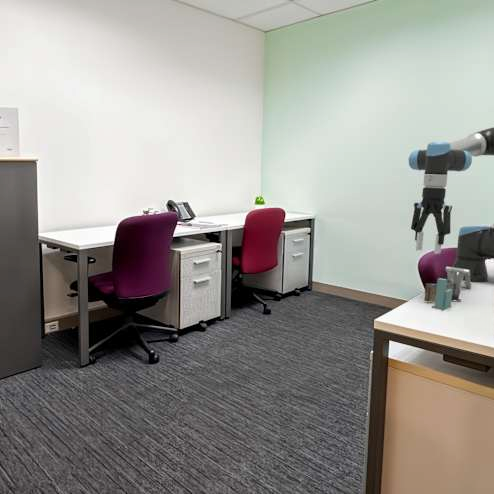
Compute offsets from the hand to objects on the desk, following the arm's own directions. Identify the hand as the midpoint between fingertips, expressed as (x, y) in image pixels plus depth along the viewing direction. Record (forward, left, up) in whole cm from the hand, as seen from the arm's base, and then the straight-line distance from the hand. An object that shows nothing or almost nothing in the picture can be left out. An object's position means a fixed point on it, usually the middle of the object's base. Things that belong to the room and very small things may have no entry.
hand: (427, 251), depth 169 cm
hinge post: (-5, +9, -17) cm, 20 cm away
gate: (+1, +6, -16) cm, 17 cm away
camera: (-19, +2, -18) cm, 26 cm away
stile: (+7, +9, -17) cm, 21 cm away
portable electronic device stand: (-27, +3, -17) cm, 32 cm away
